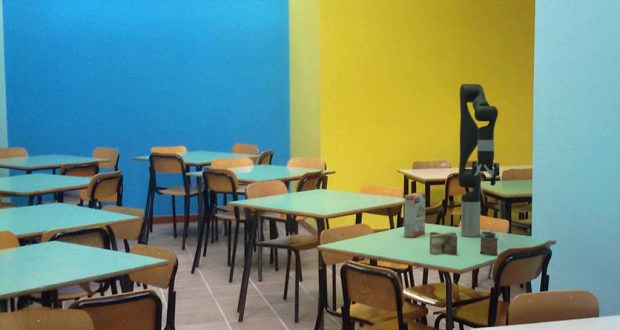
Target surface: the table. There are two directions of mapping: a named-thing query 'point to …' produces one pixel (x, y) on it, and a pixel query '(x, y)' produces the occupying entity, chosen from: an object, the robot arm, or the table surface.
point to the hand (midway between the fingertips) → (485, 184)
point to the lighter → (488, 244)
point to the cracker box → (414, 215)
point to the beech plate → (438, 242)
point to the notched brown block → (448, 244)
